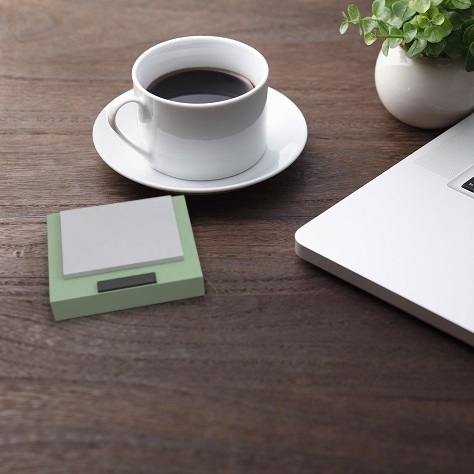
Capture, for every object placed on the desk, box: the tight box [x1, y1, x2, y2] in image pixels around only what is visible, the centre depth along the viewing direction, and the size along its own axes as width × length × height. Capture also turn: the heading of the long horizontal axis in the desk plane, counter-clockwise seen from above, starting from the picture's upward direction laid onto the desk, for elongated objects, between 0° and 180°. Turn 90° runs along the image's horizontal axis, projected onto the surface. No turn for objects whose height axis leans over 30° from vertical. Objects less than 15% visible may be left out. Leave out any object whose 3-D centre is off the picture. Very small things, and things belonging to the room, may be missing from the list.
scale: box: [46, 194, 206, 322], centre depth 76 cm, size 13×12×3 cm
